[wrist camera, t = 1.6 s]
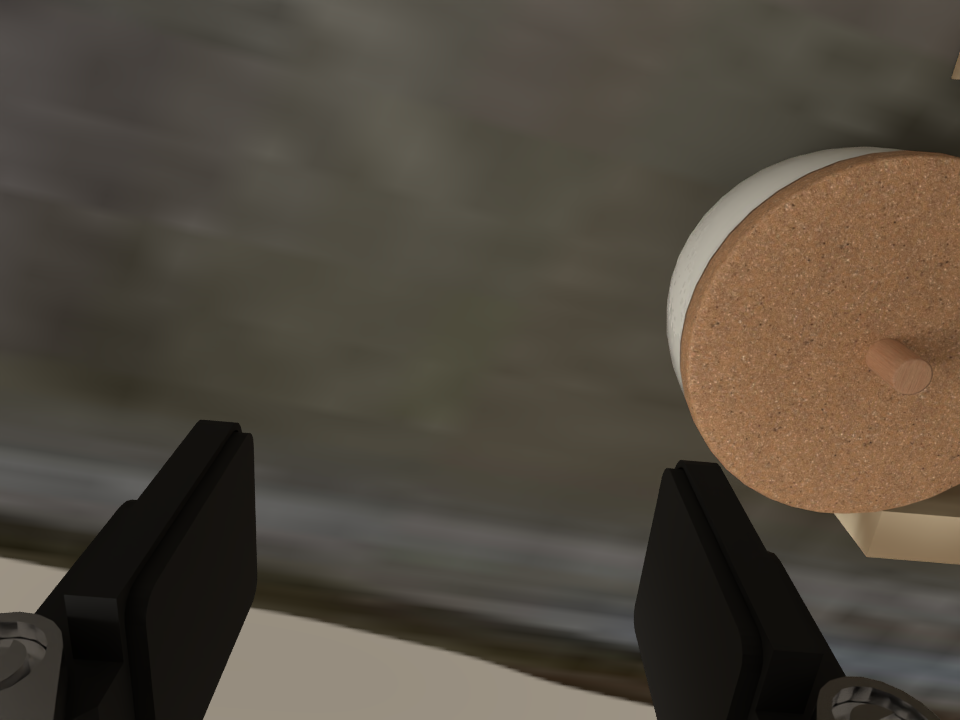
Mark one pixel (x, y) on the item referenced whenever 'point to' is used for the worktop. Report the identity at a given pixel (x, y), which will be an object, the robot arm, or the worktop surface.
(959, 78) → the bar
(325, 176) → the worktop surface
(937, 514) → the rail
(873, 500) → the lidded jar
